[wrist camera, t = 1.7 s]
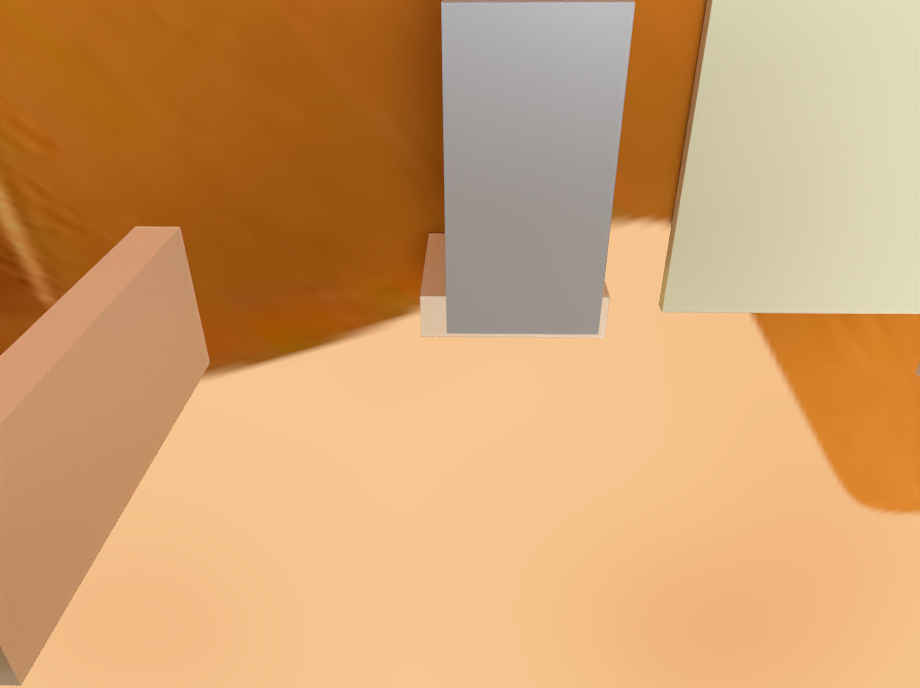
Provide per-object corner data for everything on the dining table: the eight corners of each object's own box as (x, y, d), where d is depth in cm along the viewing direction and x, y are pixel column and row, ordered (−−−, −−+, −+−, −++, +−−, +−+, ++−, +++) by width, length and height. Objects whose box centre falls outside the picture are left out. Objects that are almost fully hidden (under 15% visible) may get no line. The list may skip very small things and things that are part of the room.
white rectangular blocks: (429, 269, 28) (421, 336, 24) (418, -132, 22) (403, -137, 17) (585, 270, 28) (605, 338, 24) (624, -133, 21) (660, -138, 17)
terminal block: (455, 207, 27) (446, 333, 19) (453, -37, 23) (441, 2, 15) (564, 207, 27) (598, 334, 19) (582, -37, 23) (635, 1, 15)
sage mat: (659, 304, 29) (662, 312, 28) (738, -198, 21) (744, -200, 20) (967, 306, 29) (976, 314, 28) (1175, -202, 20) (1194, -204, 20)
